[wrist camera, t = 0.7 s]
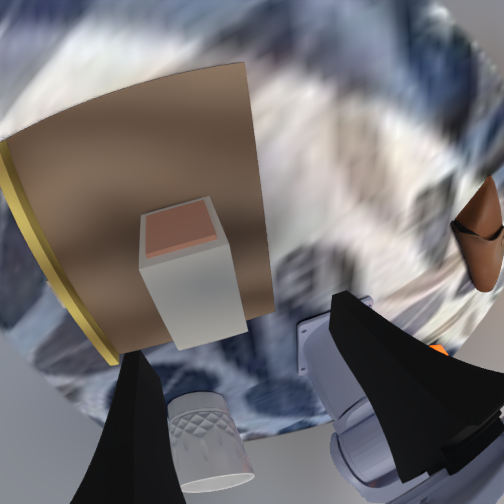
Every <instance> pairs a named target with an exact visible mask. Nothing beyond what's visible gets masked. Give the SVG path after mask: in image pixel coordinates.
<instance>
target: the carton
mask: <svg viewBox="0 0 504 504" xmlns="http://www.w3.org/2000/svg"><path fill="white" fill-rule="evenodd" d="M139 271H140V273H141V276H142V278H143V280H144V282H145V284H146V287H147V289H148V291H149V293H150V295H151V297H152V299H153V301H154V303H155V305H156V307H157V309H158V312H159V314H160V316H161V318H162V320H163V322H164V323H165V325H166V327H167V329H168V331H169V333H170V335H171V337H172V339H173V341H174V343H175V345H176V346H177V348H178V350H179V351H180V350H184V349H188V348H192V347H195V346H199V345H203V344H206V343H210V342H214V341H217V340H221V339H224V338H228V337H231V336H234V335H238V334H241V333H244V332H248V329H247V325H246V320H245V316H244V311H243V307H242V302H241V298H240V293H239V288H238V284H237V279H236V274H235V270H234V265H233V260H232V255H231V250H230V246H229V242H228V240H227V238H226V235H225V233H224V230H223V228H222V225H221V223H220V221H219V218H218V216H217V213H216V211H215V208H214V206H213V203H212V201H211V199H210V196H207V197H203V198H199V199H196V200H192V201H188V202H185V203H181V204H177V205H174V206H170V207H167V208H163V209H160V210H156V211H153V212H150V213H146V214H143V215H141V223H140V244H139Z"/></svg>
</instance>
